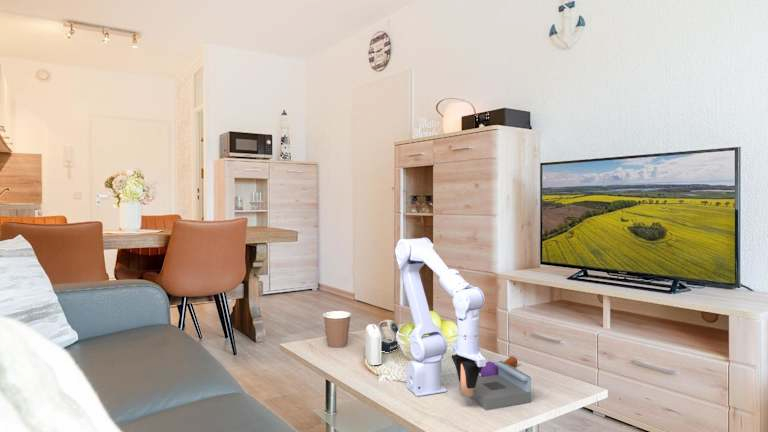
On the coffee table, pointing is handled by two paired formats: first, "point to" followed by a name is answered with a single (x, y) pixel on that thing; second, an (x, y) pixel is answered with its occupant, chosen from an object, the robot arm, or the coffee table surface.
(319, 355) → the coffee table surface
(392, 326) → the watch
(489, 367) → the kendama
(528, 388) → the socket
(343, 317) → the coffee cup
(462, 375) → the peg
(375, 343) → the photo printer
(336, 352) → the coffee table surface
